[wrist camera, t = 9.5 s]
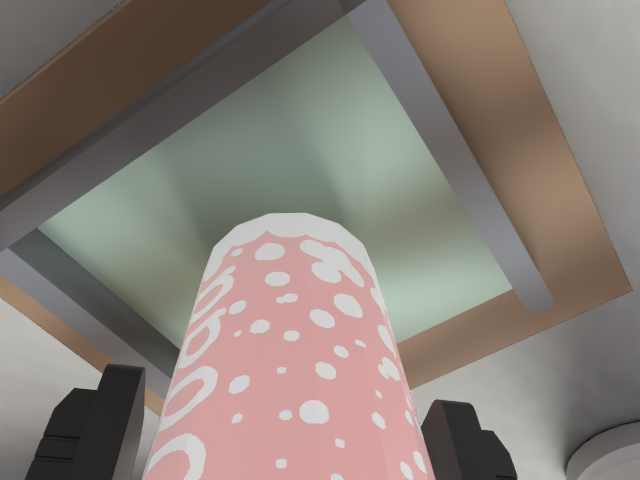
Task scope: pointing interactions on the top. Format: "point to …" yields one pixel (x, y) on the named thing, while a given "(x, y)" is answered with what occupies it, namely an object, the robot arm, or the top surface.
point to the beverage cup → (289, 366)
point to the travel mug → (608, 456)
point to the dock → (295, 173)
